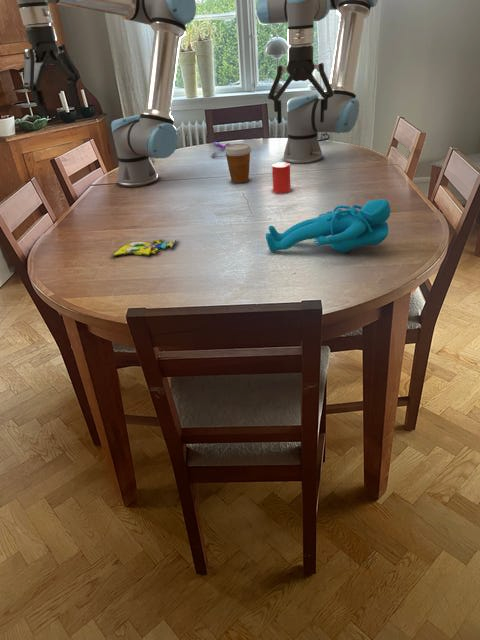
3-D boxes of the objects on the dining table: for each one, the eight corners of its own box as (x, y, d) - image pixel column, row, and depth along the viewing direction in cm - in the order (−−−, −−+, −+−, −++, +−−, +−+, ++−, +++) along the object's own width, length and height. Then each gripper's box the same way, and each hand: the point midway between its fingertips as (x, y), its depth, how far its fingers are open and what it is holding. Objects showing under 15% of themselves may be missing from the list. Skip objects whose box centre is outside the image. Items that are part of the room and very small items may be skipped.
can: (273, 194, 160) (271, 167, 155) (273, 188, 164) (272, 162, 160) (290, 193, 159) (290, 166, 154) (290, 187, 164) (290, 161, 159)
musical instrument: (233, 161, 200) (257, 143, 213) (232, 156, 199) (256, 138, 211) (189, 161, 213) (214, 143, 225) (188, 156, 212) (212, 139, 224)
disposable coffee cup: (222, 184, 172) (219, 149, 166) (233, 176, 180) (230, 142, 173) (247, 185, 169) (245, 150, 163) (256, 177, 176) (254, 143, 170)
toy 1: (167, 253, 124) (112, 254, 126) (167, 256, 124) (112, 257, 126) (176, 237, 132) (124, 238, 134) (176, 240, 133) (125, 241, 135)
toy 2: (270, 213, 128) (386, 185, 117) (281, 248, 133) (393, 225, 122) (259, 239, 114) (389, 210, 104) (272, 277, 119) (397, 254, 109)
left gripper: (13, 28, 118) (39, 120, 129) (80, 22, 136) (98, 103, 148) (-9, 30, 120) (19, 120, 132) (60, 24, 139) (79, 103, 151)
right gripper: (256, 49, 142) (259, 125, 153) (342, 43, 136) (339, 123, 147) (262, 47, 148) (264, 120, 159) (344, 42, 142) (341, 119, 153)
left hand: (61, 111), depth 140 cm, fingers open, 13 cm apart
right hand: (300, 122), depth 153 cm, fingers open, 13 cm apart
